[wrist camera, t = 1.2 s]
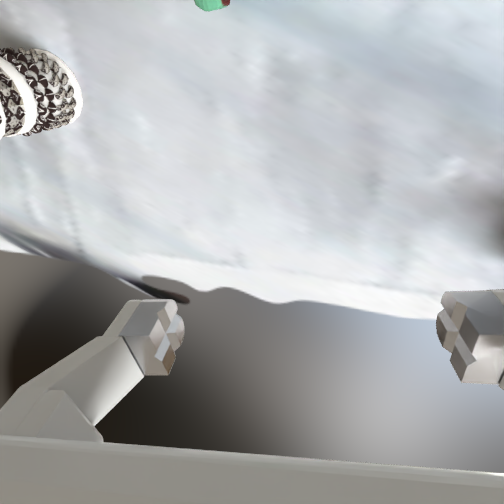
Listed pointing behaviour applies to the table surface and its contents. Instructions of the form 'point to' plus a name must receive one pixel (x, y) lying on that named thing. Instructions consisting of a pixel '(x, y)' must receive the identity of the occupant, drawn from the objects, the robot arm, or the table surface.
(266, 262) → the table surface
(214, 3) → the mug
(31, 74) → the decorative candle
